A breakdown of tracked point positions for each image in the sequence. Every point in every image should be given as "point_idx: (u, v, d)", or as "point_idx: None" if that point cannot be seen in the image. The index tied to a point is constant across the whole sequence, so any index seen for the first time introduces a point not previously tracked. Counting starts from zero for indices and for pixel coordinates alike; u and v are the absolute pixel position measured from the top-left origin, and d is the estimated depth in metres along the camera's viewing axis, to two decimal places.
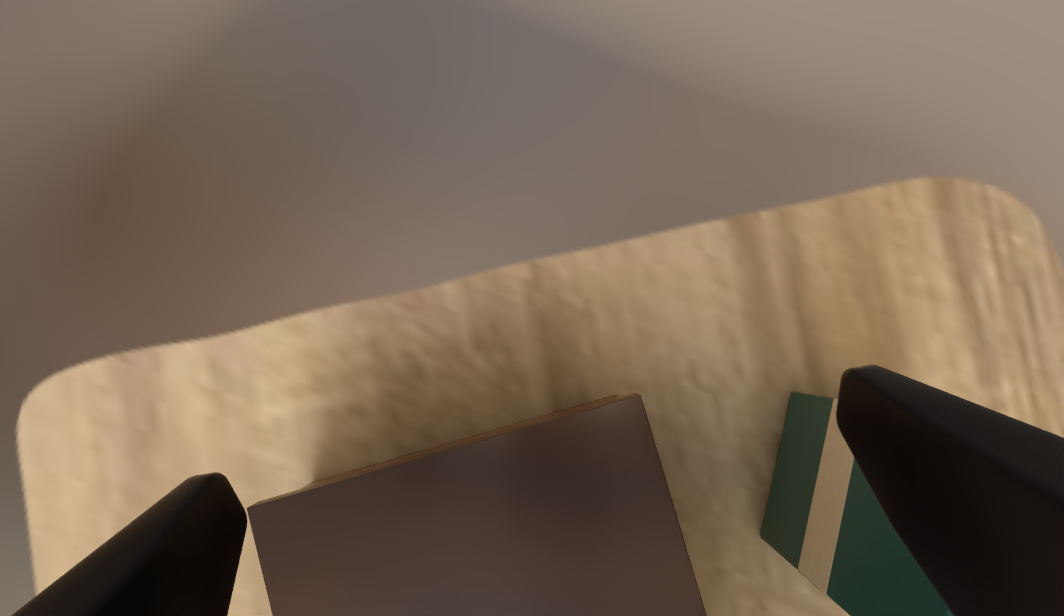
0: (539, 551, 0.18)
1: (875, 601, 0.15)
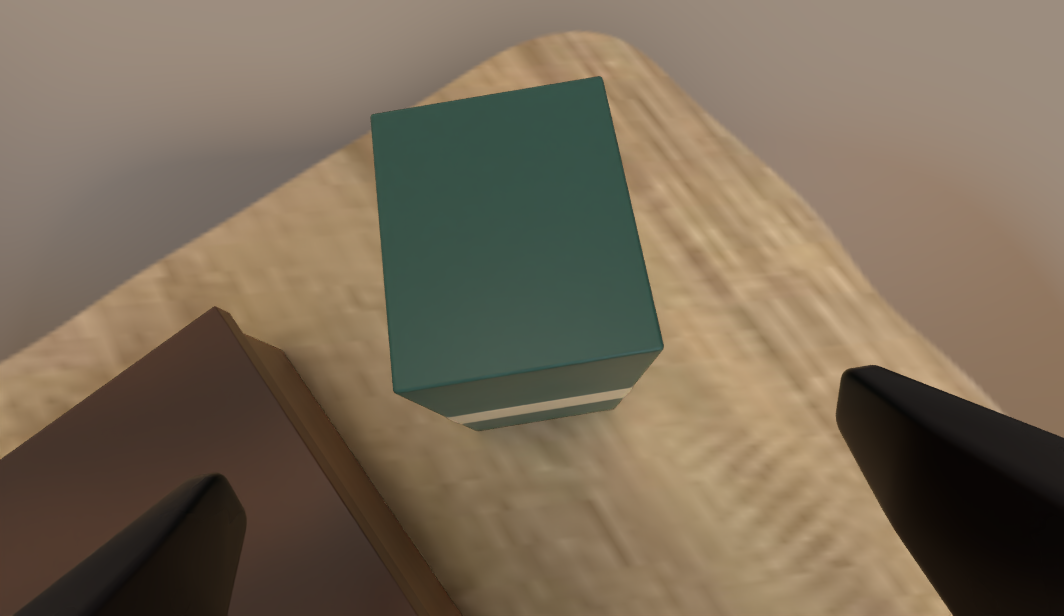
0: None
1: None
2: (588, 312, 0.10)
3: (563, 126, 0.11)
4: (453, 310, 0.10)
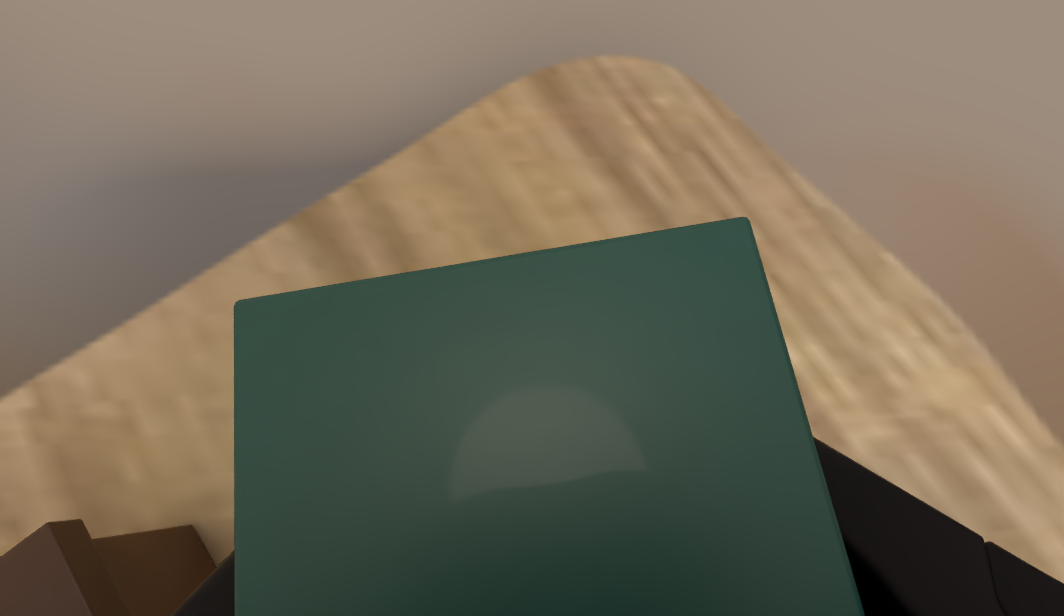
0: None
1: None
2: None
3: (669, 342, 0.05)
4: None
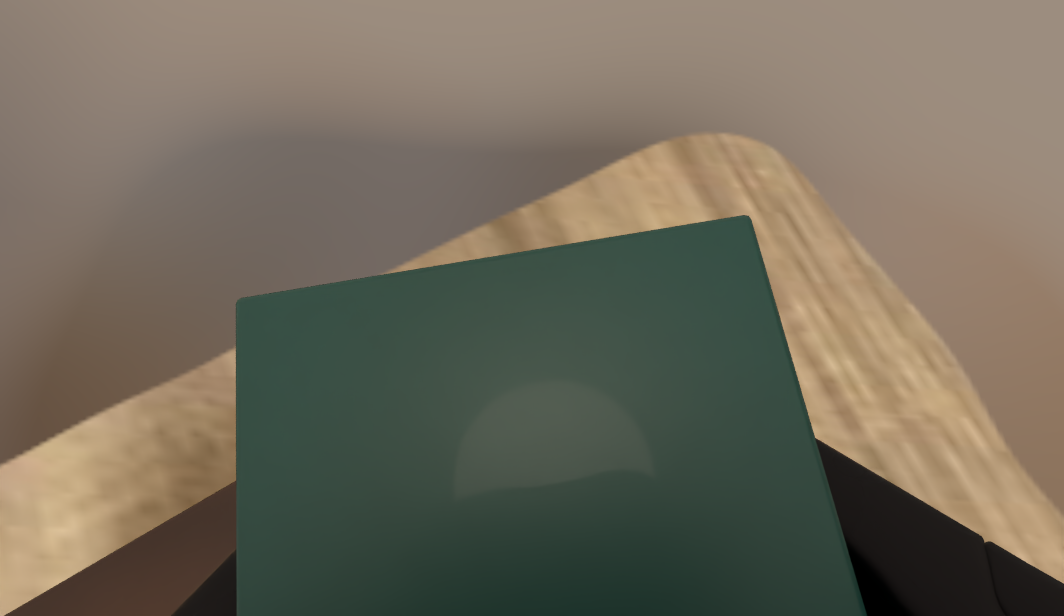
0: None
1: None
2: None
3: (671, 340, 0.05)
4: None
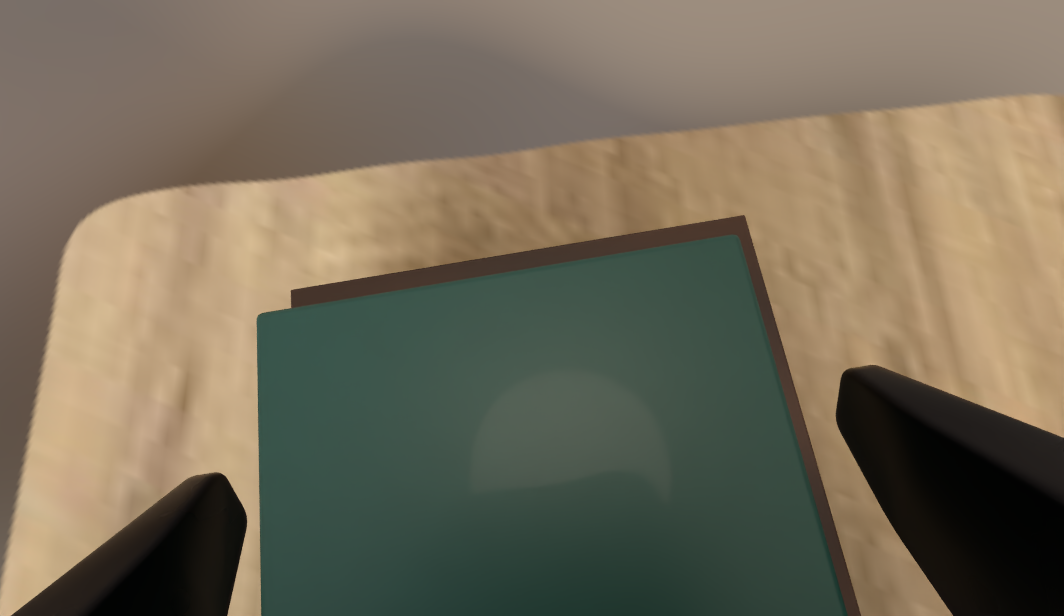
0: None
1: None
2: None
3: (664, 352, 0.05)
4: None
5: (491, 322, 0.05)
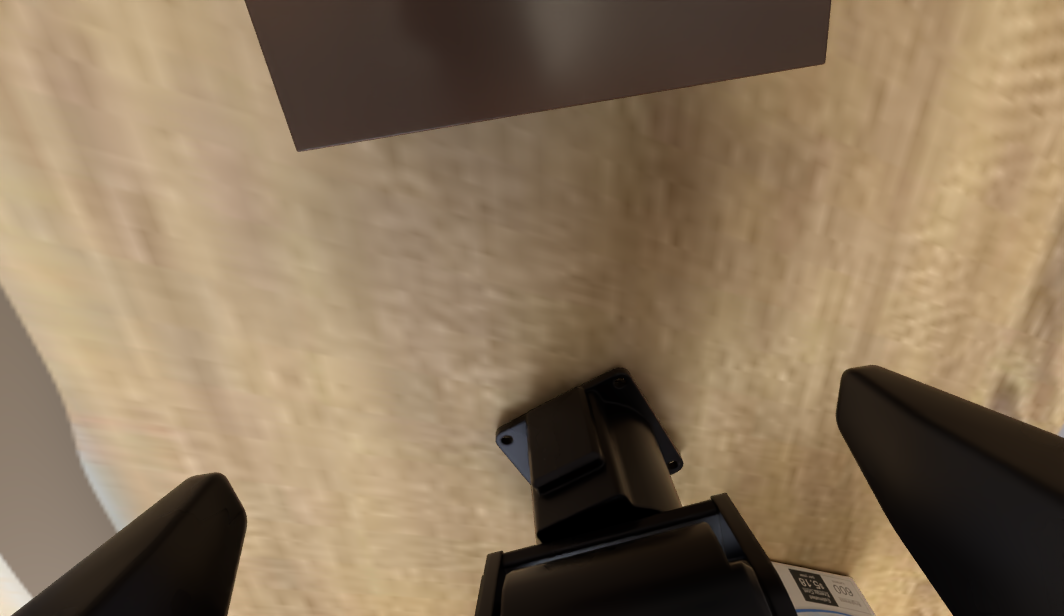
0: None
1: None
2: None
3: None
4: None
5: None
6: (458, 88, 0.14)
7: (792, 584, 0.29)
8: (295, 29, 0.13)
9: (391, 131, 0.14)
